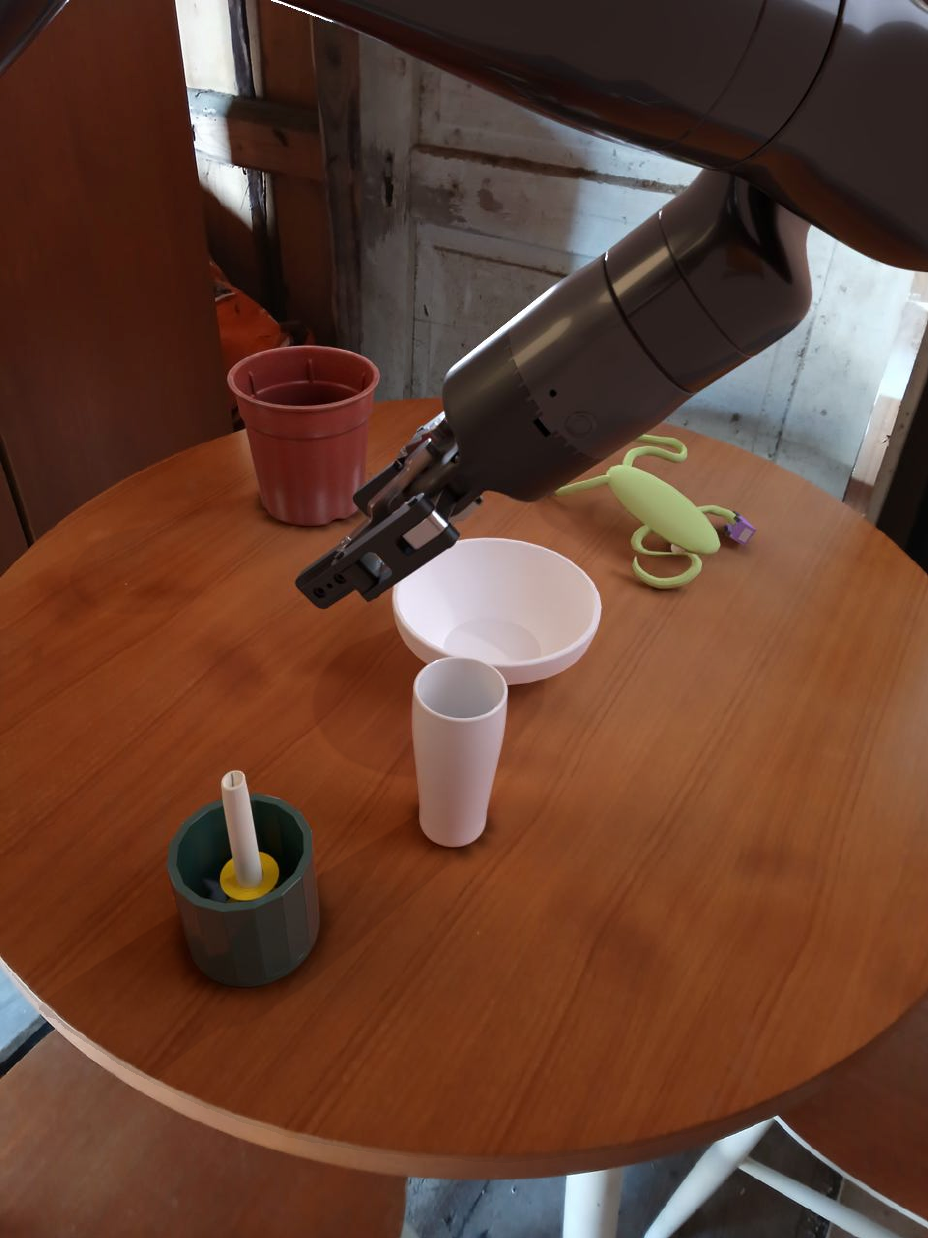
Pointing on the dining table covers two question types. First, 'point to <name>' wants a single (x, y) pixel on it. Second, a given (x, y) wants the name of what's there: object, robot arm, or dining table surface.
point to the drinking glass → (457, 745)
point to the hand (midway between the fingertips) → (338, 548)
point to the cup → (254, 930)
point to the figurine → (665, 511)
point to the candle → (244, 846)
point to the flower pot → (306, 428)
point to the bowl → (499, 608)
